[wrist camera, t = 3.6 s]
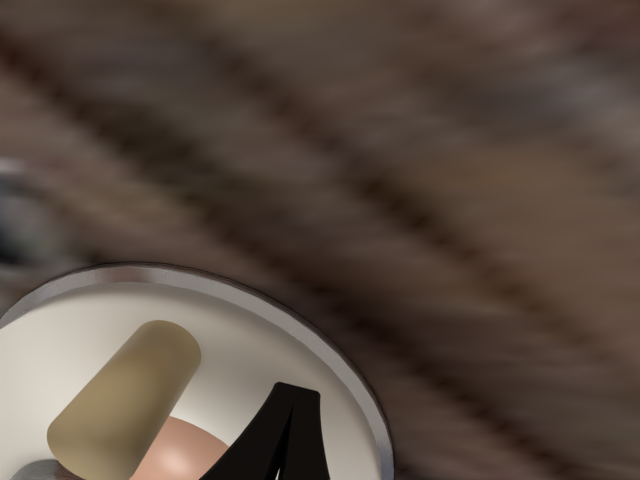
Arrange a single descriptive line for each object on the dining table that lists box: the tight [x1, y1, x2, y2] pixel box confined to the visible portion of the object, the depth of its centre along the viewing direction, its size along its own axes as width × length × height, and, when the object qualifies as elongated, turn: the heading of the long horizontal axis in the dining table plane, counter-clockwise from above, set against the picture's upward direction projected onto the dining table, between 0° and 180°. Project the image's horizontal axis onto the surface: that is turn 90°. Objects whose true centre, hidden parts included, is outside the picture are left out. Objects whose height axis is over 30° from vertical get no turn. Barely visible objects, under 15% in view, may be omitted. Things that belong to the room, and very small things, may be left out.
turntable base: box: [0, 262, 394, 480], centre depth 19 cm, size 19×19×1 cm
